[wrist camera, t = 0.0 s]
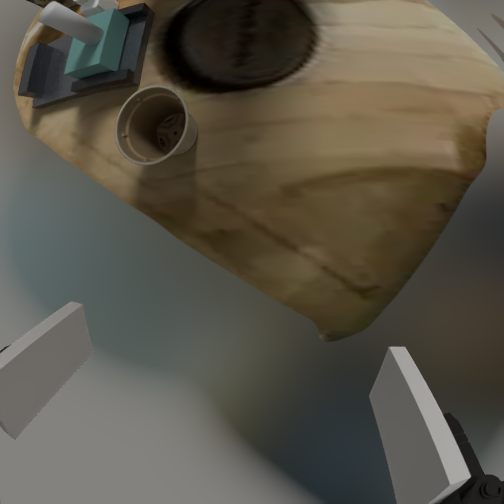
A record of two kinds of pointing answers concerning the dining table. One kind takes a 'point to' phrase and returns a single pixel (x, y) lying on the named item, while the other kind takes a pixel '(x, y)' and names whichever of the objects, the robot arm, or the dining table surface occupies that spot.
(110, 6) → the pepper shaker
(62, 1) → the coffee box
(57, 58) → the tray
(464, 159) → the dining table surface
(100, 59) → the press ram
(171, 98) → the flower pot
